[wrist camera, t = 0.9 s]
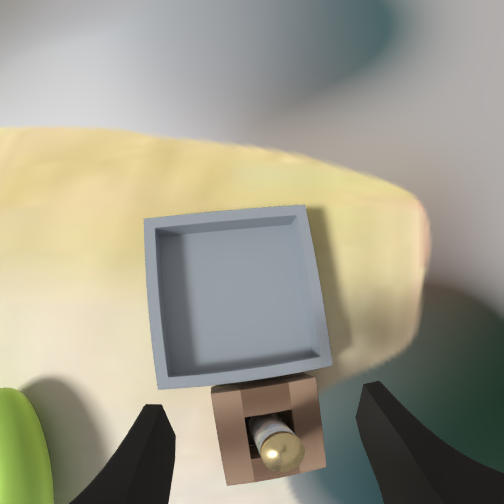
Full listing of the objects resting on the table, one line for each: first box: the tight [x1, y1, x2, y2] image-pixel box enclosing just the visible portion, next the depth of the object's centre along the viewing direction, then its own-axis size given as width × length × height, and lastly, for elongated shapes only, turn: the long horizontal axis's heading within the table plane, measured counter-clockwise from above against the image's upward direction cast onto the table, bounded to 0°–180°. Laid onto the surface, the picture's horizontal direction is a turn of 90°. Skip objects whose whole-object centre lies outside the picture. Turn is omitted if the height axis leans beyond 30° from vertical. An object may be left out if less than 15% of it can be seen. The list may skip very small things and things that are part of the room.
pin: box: [249, 413, 305, 472], centre depth 18 cm, size 2×2×7 cm
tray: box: [144, 205, 333, 390], centre depth 23 cm, size 12×12×2 cm
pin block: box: [211, 374, 326, 486], centre depth 20 cm, size 7×7×3 cm
